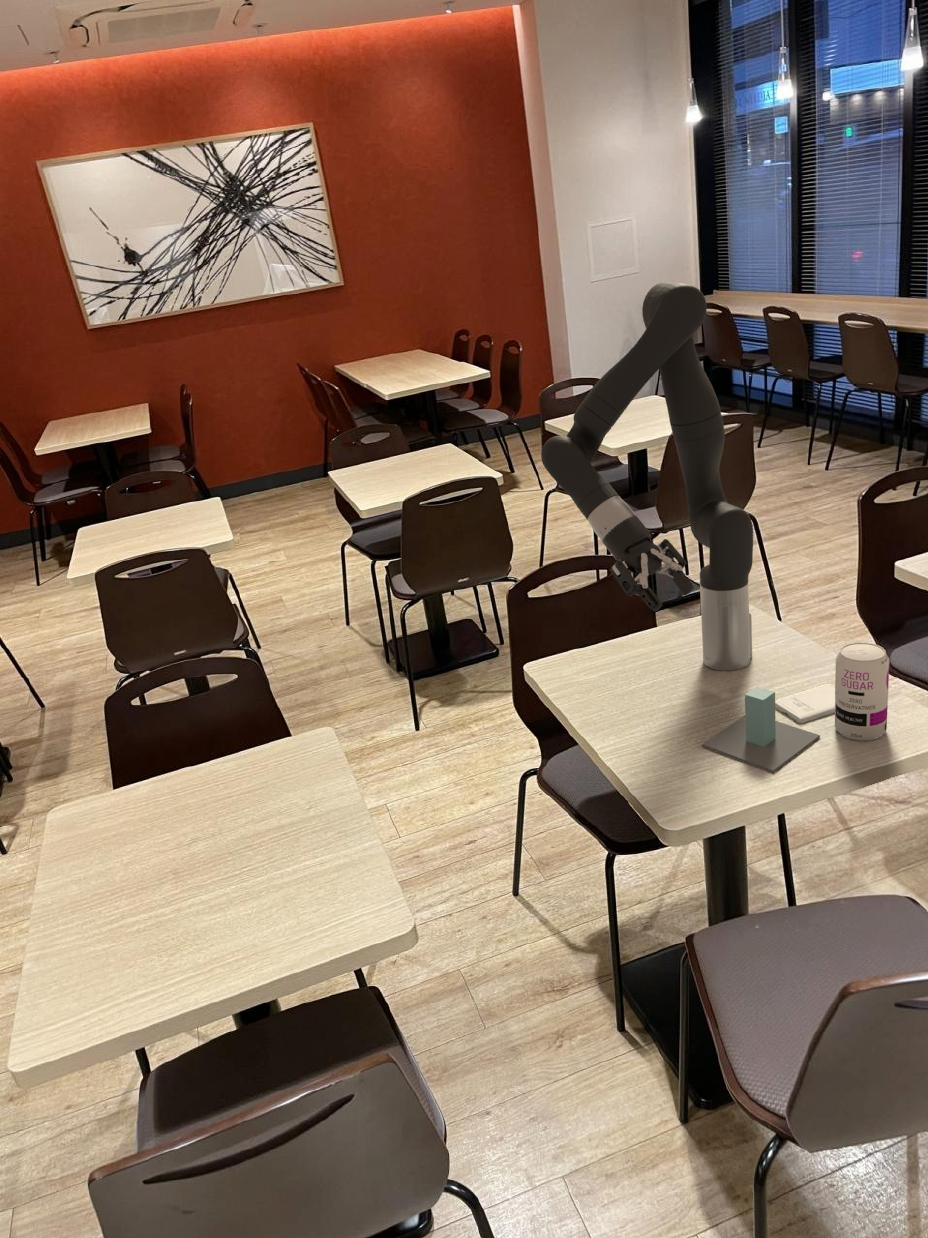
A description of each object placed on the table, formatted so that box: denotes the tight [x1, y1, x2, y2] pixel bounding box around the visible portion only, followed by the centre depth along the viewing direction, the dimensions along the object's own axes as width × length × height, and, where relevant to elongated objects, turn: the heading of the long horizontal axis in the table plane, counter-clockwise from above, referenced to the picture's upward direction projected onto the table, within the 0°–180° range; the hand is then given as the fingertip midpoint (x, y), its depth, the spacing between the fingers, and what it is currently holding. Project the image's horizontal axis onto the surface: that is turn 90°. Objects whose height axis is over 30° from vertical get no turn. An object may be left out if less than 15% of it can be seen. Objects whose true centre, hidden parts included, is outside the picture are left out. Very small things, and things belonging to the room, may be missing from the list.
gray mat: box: [701, 714, 821, 774], centre depth 162 cm, size 14×14×1 cm
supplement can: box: [834, 642, 890, 742], centre depth 158 cm, size 8×8×15 cm
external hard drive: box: [775, 682, 835, 725], centre depth 171 cm, size 2×8×12 cm
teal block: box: [744, 686, 776, 747], centre depth 160 cm, size 4×4×9 cm
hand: (674, 600), depth 162 cm, fingers open, 8 cm apart
